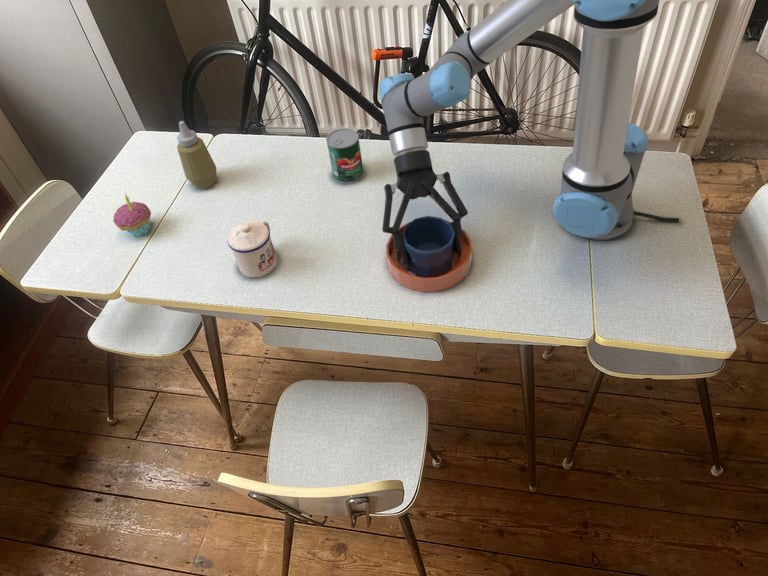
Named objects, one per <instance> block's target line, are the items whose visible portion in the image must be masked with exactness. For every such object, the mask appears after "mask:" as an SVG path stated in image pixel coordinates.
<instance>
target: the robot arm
mask: <svg viewBox="0 0 768 576" xmlns="http://www.w3.org/2000/svg"><path fill="white" fill-rule="evenodd" d="M660 1H661V0H506V1H504V2H503V3H502V4H501V5H499V6H498V7H497V8H496V9H495V10H493V11H492V12H491V13H490V14H488V15H487V16H486V17H485V18H483V19H482V20H481V21H480V22H478V23H477V24H476V25H475V26H473V27H472V28H471V29H470V30H466V31H465V32H463V33H461V34H460V35H459V36H458V37H457V38H455V40H454V41H453V42H452V44H451V45H450V47H449V48H448V49H447V50H446V51H445V52H444V53H443V54H442V55H441V57H440V58H439V59H437V60H436V62H435V63H434V64H433V65H432V66H431V67H430V68H429V70H427V71H426V72H424V73H423V74H421V75H419V76H418V77H416V78H415V77H414V75H413V74H411V73H408V72H407V73H406V72H405V73H404V72H403V73H397V74H394V75H389V76H388V77H385V78H384V79H383V80H381V82H380V83H379V95H380V104H381V107H382V111H383V115H384V120H385V124H386V128H387V134H388V138H389V145H390V149H391V154H392V156H395V157H394V158H393V163H394V168H395V173H396V180H397V181H396V182H394V183H386V184H385V185H384V186H383V191H384V195H385V200H384V201H385V202H384V211H383V219H382V229H381V230H382V233H385V234H390V235H392V236H393V241H394V246H395V248H396V249H401V254H402V259H403V264H409V262H408V258H407V253H406V248H405V243H404V238H403V234H402V233H398V231H399V228H400V227H401V225H402V222H403V219H404V217H405V214H406V212H407V208H408V206H409V202H410V201H411V200H412V201H413V200H417V199H419V198H427V197H429V198H430V199H432V200H433V201H434V202H435V203H436V204H437V205H438V206H439V208H440V209H442V211H443V212H444V213H445V214H446V215H447V216H448V217H449V218H450V219H451V220H452V221H449V222H450V224H451V225H452V228H453V230H454V232H455V253H460V252H462V251H461V246H460V241H459V236H461V235H462V234H463V232H462V229H463V228H462V223H461V220H462V218H464V217H466V216H467V215H468V214H469V211H468V210H467V208H466V206H465V204H464V203H463V201H462V199H461V197H460V195H459V194H458V192H457V190H456V188H455V187H454V185H453V183H452V179H451V174H450V172H449V171H445V172H443V173H439V174H437V173H435V171H434V169H433V163H432V159H431V154H430V151H429V150H427V149H428V148H429V143H428V139H427V135H426V130H425V123H424V118H426V117H428V116H430V115H432V114H433V115H434V114H435V113H439V112H440V111H443V110H446V109H449V108H452V107H455V106H457V105H458V104H460V103H461V102H463V101H465V100H466V99H467V98H468V97H469V96H470V94H471V87H472V80H473V78H475V76H476V75H477V74H479V72H480V71H482V70H483V69H485V68H487V67H488V66H489V65H490V64H492V63H493V62H494V61H495V60H497V59H499V58H500V57H501V56H503V55H504V54H506V53H507V52H509V51H510V50H511V49H513V48H514V47H515V46H517V45H518V44H520V43H521V42H523V41H524V40H526V39H527V38H529V37H530V36H531V35H533V34H534V33H536V32H537V31H539V30H540V29H541V28H543V27H544V26H546V25H547V24H549V23H550V22H551V21H553V20H554V19H555V18H558V16H560V15H561V14H563V13H564V12H566V11H567V10H568V9H570V8H572V7H573V6H574V9H573V10H574V11H573V19H574V21H575V22H576V23H577V25H579V27H581V28H582V37H581V50H580V61H579V72H578V73H579V74H578V86H577V95H576V109H575V119H574V120H575V121H574V132H573V133H574V134H573V142H572V152H570V154H568V155H567V156H566V157H565V159H564V161H563V163H562V172H561V184H560V185H561V186H560V190H559V194H558V195H557V196H556V198H554V199H555V200H554V203H553V204H554V205H553V206H552V212H553V217H554V219H555V221H556V222H557V224H558V225H559V226H560V227H562V228H564V230H565V231H566V232H568V233H570V234H571V235H572V234H573V235H575V236H577V237H582V238H584V239H588V240H592V241H610V240H615V239H617V238H620V237H622V236H624V235H625V234H626V233H628V231H629V230H630V228H631V227H632V223H633V220H634V216H637V217H644V218H648V219H652V220H656V221H662V222H670V223H671V222H674V223H675V222H676V223H679V222H680V217H665V216H660V215H659V216H658V215H655V214H651V213H646V212H641V211H637V210H634V205H633V197H632V194H633V191H634V187H635V185H636V182H637V179H638V176H639V172H640V169H641V166H642V162H643V159H644V156H645V152H647V150H648V147H647V146H648V141H649V136H648V134H647V133H646V131H645V130H644V129H643V128H641V127H640V126H639V125H636V124H634V123H632V122H630V121H629V120H630V114H631V109H632V102H633V98H634V97H633V96H634V89H635V85H636V78H637V73H638V71H637V70H638V64H639V61H640V60H639V58H640V53H641V47H642V42H643V41H642V40H643V35H644V27H646V26H647V25H648V24H650V23H651V22H652V21H654V19H656V17H657V15H658V11H659V5H660ZM437 181H438V182H439V183H440V184H441V185H443V187H444V190H445V191H446V194H447V195H448V196H449V199H450V200H451V202H452V204H453V205H454V207H455V209H456V210H455V209H454V208H453V207H452V206H451V205H450V204H449V202H447V201H446V200H445V198H444V197H443V196H442V195H440V193H439V192H438V190H437V189H436V188H435V185H436V182H437ZM396 189H397V190H399V191H400V192H401V193H402V194H403V196H402V199H401V202H400V205H399V207H398V210H397V213H396V216H395V220H394V221H393V225H392V226H390V224H391V215H392V207H393V200H394V199H393V198H394V197H393V195H394V194H395V193H396Z"/></svg>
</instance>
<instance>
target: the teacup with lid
mask: <svg viewBox="0 0 768 576" xmlns="http://www.w3.org/2000/svg"><path fill="white" fill-rule="evenodd" d="M227 244H228V245H227V246H228V247H229V248H230V250H231V251H232V254H233V257H234V259H235V261H236V264H237V267H238V269H239V271H240V273H241V274H242V275H244V276H246V277H248V278H261V277H264V276H266V275H269V274H270V273H271V272H272V271H274V269H275V268H276V266H277V263H278V256H277V253H276V250H275V248H274V244H273V241H272V238H271V228H270V224H269V222H268V221H263V220H262V221H257V220H248V221H244V222H241V223H238V224H237V225H235V226H234V227H232V229H231V230H230V231H229V233H228V236H227Z"/></svg>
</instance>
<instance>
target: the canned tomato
mask: <svg viewBox="0 0 768 576" xmlns="http://www.w3.org/2000/svg"><path fill="white" fill-rule="evenodd" d="M359 137H360V135H359V134H358V132H357V131H356V130H354V129H352V128H347V127H346V128H338V129H335V130H332V131H331V132H329V134H328V135H327V136H326V139H325V141H326V145H327V150H328V151H327V152H328V155H329V160H330V167H331V172H332V177H333V179H334V180H335V181H336V182H338V183H340V184H353V183H356V182H358V181H359V180H361V179H362V178H363V176H364V173H365V172H364V165H363V160H362V159H363V158H362V153H361V146H360V145H361V144H360V138H359Z"/></svg>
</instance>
